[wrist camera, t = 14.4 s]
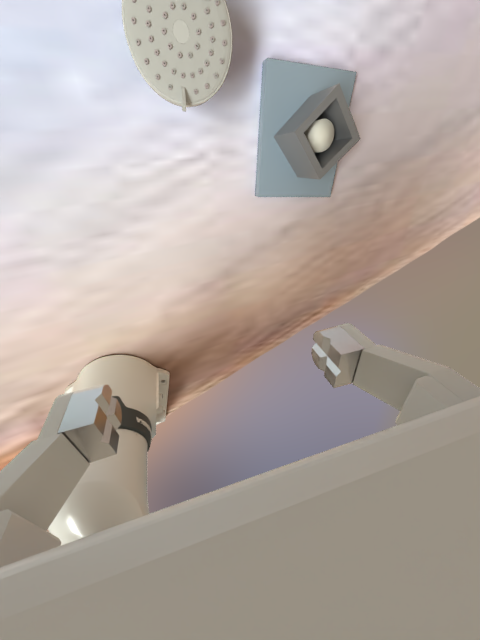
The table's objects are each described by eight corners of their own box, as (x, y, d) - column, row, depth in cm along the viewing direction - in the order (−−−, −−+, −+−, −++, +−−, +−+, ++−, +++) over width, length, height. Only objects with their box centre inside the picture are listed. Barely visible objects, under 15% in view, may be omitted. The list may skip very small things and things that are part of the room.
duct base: (324, 195, 39) (348, 200, 34) (254, 195, 36) (270, 200, 31) (348, 75, 31) (383, 59, 26) (262, 62, 28) (284, 41, 23)
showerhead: (131, 102, 22) (108, -91, 16) (137, 114, 28) (121, -25, 22) (231, 118, 24) (239, -45, 19) (217, 126, 30) (220, 4, 25)
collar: (331, 142, 33) (360, 138, 29) (297, 177, 35) (320, 179, 30) (310, 95, 30) (339, 83, 25) (273, 136, 31) (294, 131, 26)
